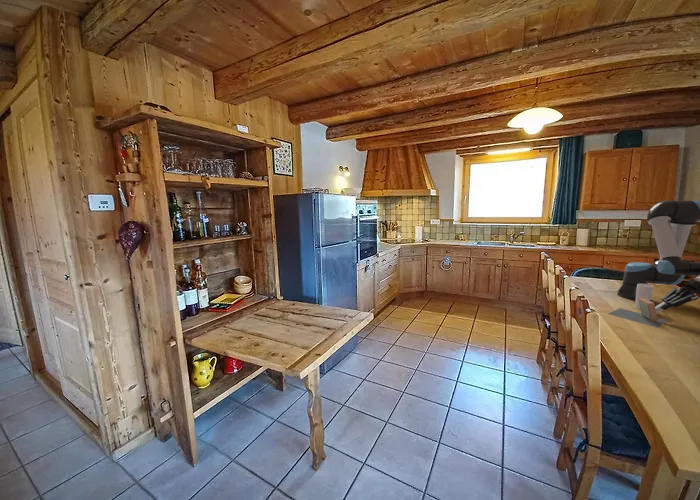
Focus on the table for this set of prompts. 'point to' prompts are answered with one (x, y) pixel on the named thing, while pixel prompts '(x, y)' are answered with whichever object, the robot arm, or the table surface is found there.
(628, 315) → the mat
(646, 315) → the tile
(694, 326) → the table surface
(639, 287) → the white rectangular block
